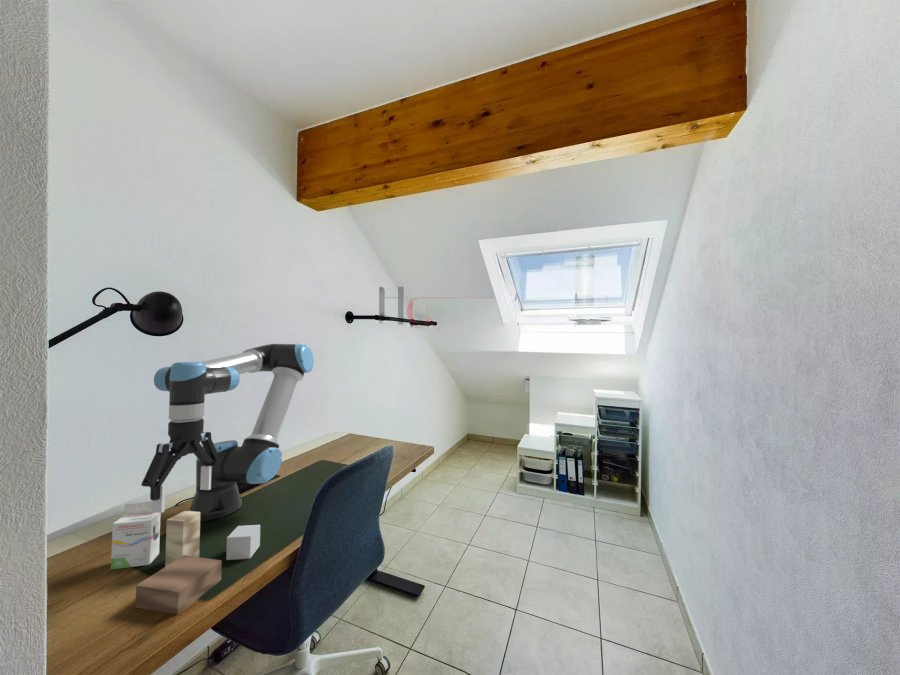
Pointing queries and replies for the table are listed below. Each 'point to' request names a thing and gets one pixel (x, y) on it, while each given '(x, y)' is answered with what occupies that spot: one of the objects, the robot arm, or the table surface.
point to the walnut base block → (178, 584)
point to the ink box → (135, 537)
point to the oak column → (182, 536)
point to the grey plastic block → (243, 542)
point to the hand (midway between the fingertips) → (183, 499)
